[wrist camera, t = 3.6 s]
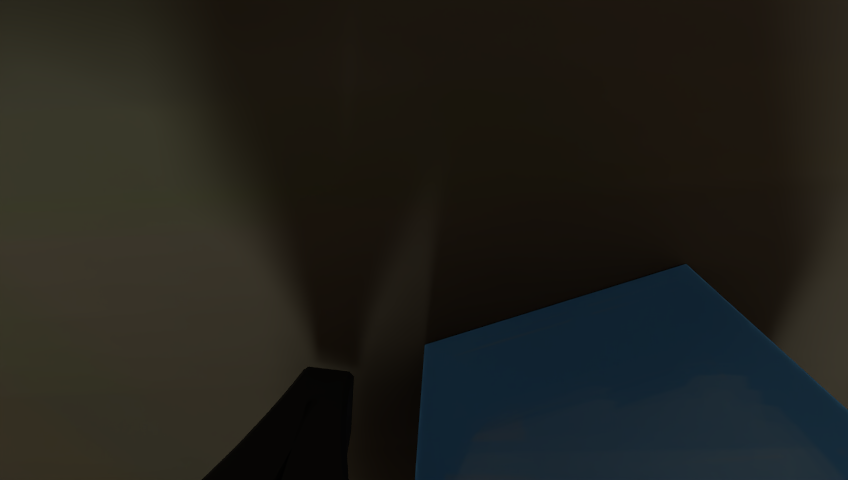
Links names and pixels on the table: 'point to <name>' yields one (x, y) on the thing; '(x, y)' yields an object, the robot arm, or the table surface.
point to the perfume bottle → (626, 394)
